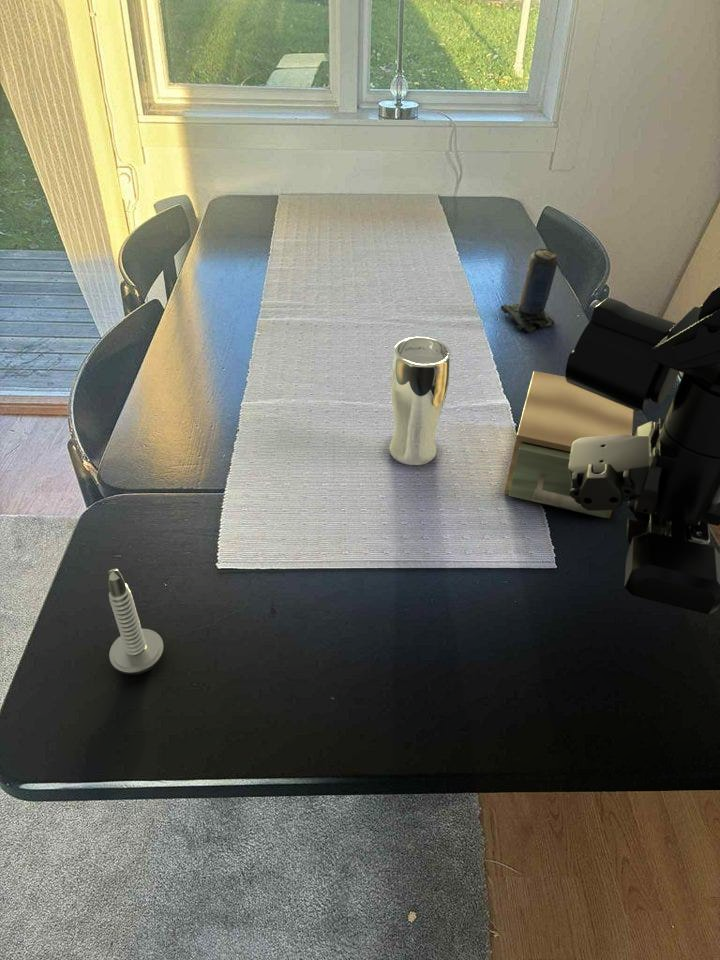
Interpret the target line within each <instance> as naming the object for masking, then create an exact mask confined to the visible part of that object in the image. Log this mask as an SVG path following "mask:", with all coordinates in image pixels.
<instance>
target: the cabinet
mask: <svg viewBox="0 0 720 960" xmlns="http://www.w3.org/2000/svg"><path fill="white" fill-rule="evenodd" d="M531 375H532V376H531V379H530V384H529V387H528V391H527V394H526V397H525V398H526V399H525V402H524V406H523V410H522V413H521V417H520V422H519V424H518V429H517V434H516V436H515V442H514V446H513V449H512V450H513V451H512V455H511V459H510V460H511V461H510V464H509V469H508V473H507V477H506V481H505V487H504V491H503V494H504V495H508V496H509V491H510V487H511V482H512V478H513V473H514V469H515V465H516V460H517V456H518V451H519V447H520V443H524V444H527V443H531V444H536V445H540V446H545V447H550V448H554V449H559V450H564V451H568V452H571V447H572V444H573V442H574V441H575V440H577V439H579V438H583V437H595V436H609V435H624V434H625V435H631V436H633V427H634V426H633V425H634V410H633V409H630V408H628V407H625V406H623V405H621V404H618V403H616V402H613V401H611V400H608V399H606V398H604V397H601V396H599V395H596V394H594V393H591V392H589V391H587V390H584V389H582V388H579V387H577V386H575V385H572V384H570V383H568V382H567V381H566V378H565V376H562V375H557V374H553V373H547V372H542V371H536V370H533V372H532V374H531ZM612 512H613V510H608V513H607V516H606V518H607V519H610V518H611V515H612ZM606 518H605V519H606Z"/></svg>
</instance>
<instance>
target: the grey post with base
mask: <svg viewBox="0 0 720 960" xmlns="http://www.w3.org/2000/svg"><path fill="white" fill-rule="evenodd" d="M557 254H558V253H557V252H556V251H553V250H551V249H547V248H537V249H535V250H534V252H533V253H532V254H531V255H530V256H529V261H528V265H527V269H526V272H525V276H524V277H525V278H524V282H523V285H522V290H521V295H520V299H519V302H518V303H516V304H507V303H506V304H502V305H501V306H500V311H502V312H503V313H504V314H508V315H509V316H511V318H512V319H513V322H514V323H515V324H517V325H516V326H517V329H518V330H525V331H526V332H528V333H531V332H534V331H536V328H537V327H536V326H535V325H534V324H538V325H539V327H540V328H547V327H549V326H553V325H555V321H554V319H553V317H551V316H550V315H549V314H548V313H547V312H546V311H545V309H546V306H547V302H548V300H549V297H550V293H551V289H552V285H553V281H554V277H555V275H556V271H557V266H558V264H559V260H558V255H557Z"/></svg>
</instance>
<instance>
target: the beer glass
mask: <svg viewBox="0 0 720 960" xmlns="http://www.w3.org/2000/svg"><path fill="white" fill-rule="evenodd" d="M451 353H452V352H451V349H450V348H449V347H448V345H447V344H446V343H444V342H442V341H440V340H438V339H436V338H431V337H425V336H413V337H408V338H405V339H403V340H401V341H399V342H397V344H396V345H395V346H394V353H393V361H392V366H391V374H390V399H391V408H392V415H393V433H392V434H393V435H392V437H391V440H390V443H389V452H390V455H391V457H392V458H393V459H394V460H395V461H397V462H398V463H401V464H404V465H407V466H422V465H425V464H428V463H430V462H431V461H433V460H434V458H435V457H436V454H437V443H436V431H437V426H438V423H439V420H440V417H441V415H442V411H443V409H444V407H445V402H446V398H447V395H448V389H449V385H450V384H449V381H450V372H451V371H450V369H451Z"/></svg>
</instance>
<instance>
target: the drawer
mask: <svg viewBox="0 0 720 960" xmlns="http://www.w3.org/2000/svg"><path fill="white" fill-rule="evenodd" d="M562 451H563V450H559V449H554V448H550V447H545V446H540V445H536V444H531V443H527V444H524V443H520V447H519V451H518V456H517V460H516V465H515V469H514V473H513V478H512V482H511V487H510V491H509V495H508V497H512V498H517V499H520V500H525V501H529V502H534V503H538V504H541V505H546V506H551V507H555V508H559V509H565V510H568V511H572V512H577V513H581V514H585V515H589V516H594V517H599V518H603V519H606V516H607V513H608V510H597V511H588V510H586V509H584V508H583V507H582V506H581V504H578V503H576V502H575V501H574V498H572V497H571V496H570V488H571V480H570V474H569V468H568V466H569V460H570V453H566V452H562Z"/></svg>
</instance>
